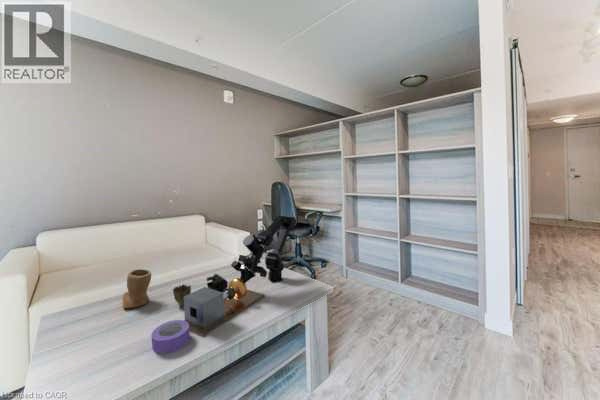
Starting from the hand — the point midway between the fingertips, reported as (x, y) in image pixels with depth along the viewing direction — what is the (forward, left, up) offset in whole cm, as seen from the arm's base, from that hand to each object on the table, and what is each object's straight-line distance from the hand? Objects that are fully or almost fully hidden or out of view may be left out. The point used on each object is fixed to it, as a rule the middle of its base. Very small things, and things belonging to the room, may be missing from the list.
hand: (240, 285), depth 119 cm
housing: (+8, +5, -7) cm, 12 cm away
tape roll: (+30, +17, -8) cm, 36 cm away
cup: (+24, -10, -7) cm, 27 cm away
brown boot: (+42, -24, -8) cm, 49 cm away
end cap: (+7, -18, -8) cm, 21 cm away
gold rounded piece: (+8, +5, -5) cm, 11 cm away
